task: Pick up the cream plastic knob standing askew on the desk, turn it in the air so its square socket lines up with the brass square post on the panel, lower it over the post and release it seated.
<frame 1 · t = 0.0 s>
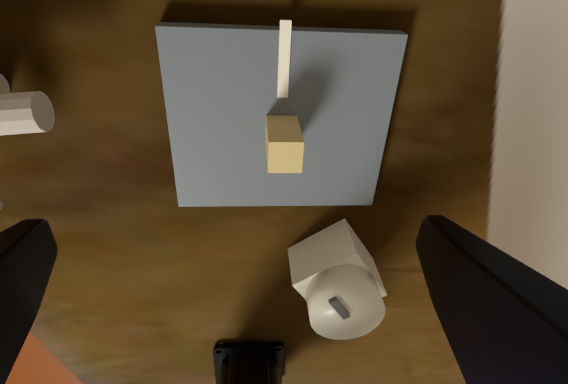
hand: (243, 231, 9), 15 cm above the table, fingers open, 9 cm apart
knob: (331, 253, 30), on the table
panel: (279, 121, 23), on the table
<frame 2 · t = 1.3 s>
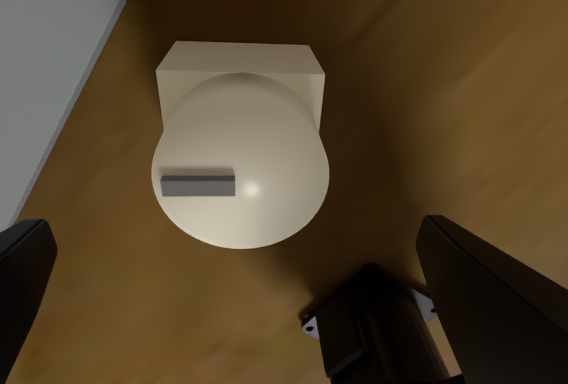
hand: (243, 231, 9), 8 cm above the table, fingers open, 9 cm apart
knob: (244, 106, 16), on the table
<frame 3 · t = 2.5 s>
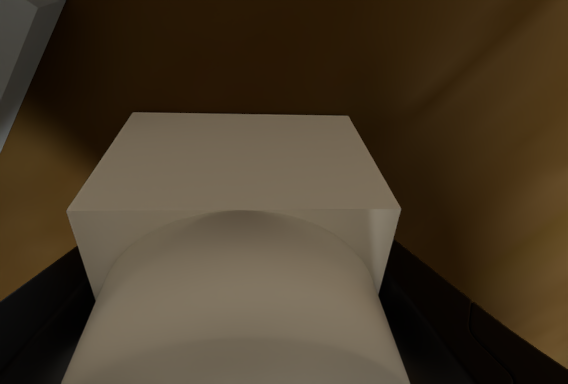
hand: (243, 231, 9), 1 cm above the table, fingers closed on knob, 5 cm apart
knob: (244, 201, 10), on the table, touching gripper
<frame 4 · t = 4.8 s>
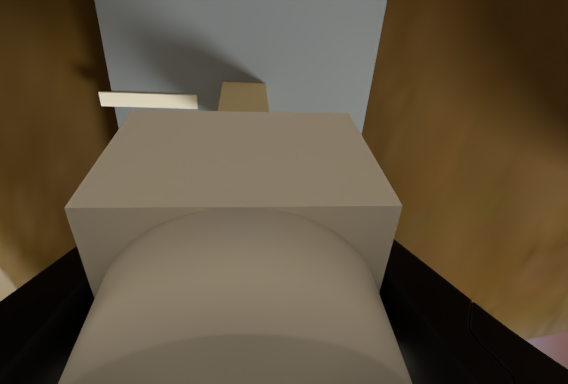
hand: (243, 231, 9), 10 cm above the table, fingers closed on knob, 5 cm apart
knob: (244, 200, 10), point 9 cm above the table, touching gripper
panel: (244, 93, 18), on the table
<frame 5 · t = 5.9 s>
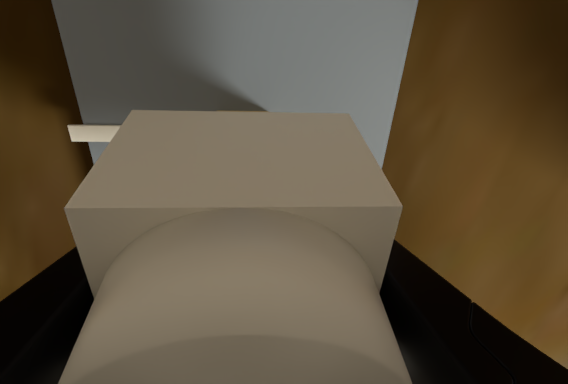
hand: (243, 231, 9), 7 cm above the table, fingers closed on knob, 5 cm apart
knob: (244, 200, 10), point 6 cm above the table, touching gripper
panel: (243, 121, 15), on the table
when the fingers open (4 cm above the table, at t = 7.0 s): knob drops 1 cm, resting on panel.
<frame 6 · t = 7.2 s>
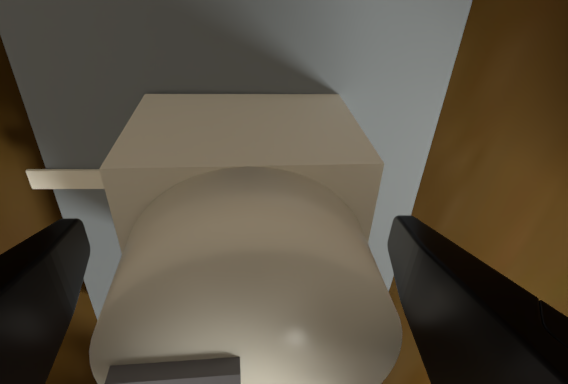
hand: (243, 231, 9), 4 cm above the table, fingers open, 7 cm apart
knob: (246, 176, 11), point 1 cm above the table, touching panel
panel: (243, 159, 12), on the table
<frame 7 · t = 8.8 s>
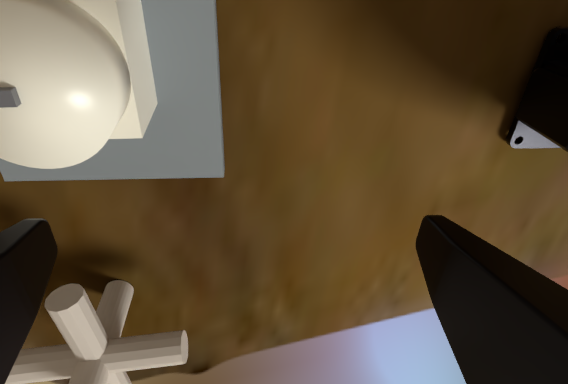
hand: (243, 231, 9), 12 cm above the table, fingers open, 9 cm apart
knob: (88, 47, 16), point 1 cm above the table, touching panel
panel: (95, 43, 17), on the table
pipe connector: (120, 287, 26), on the table
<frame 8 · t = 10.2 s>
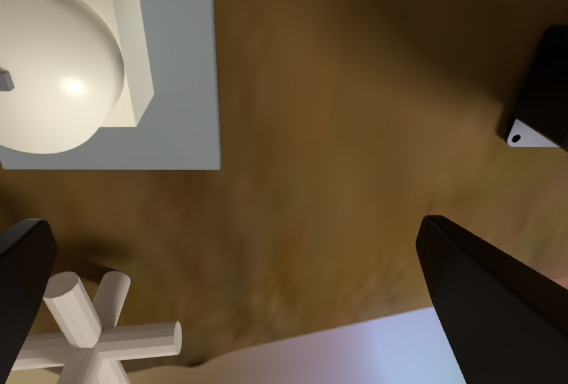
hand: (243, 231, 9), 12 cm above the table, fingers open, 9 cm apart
knob: (85, 37, 16), point 1 cm above the table, touching panel
panel: (94, 34, 18), on the table
pipe connector: (117, 278, 26), on the table
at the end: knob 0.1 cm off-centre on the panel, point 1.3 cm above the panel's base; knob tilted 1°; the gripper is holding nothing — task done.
